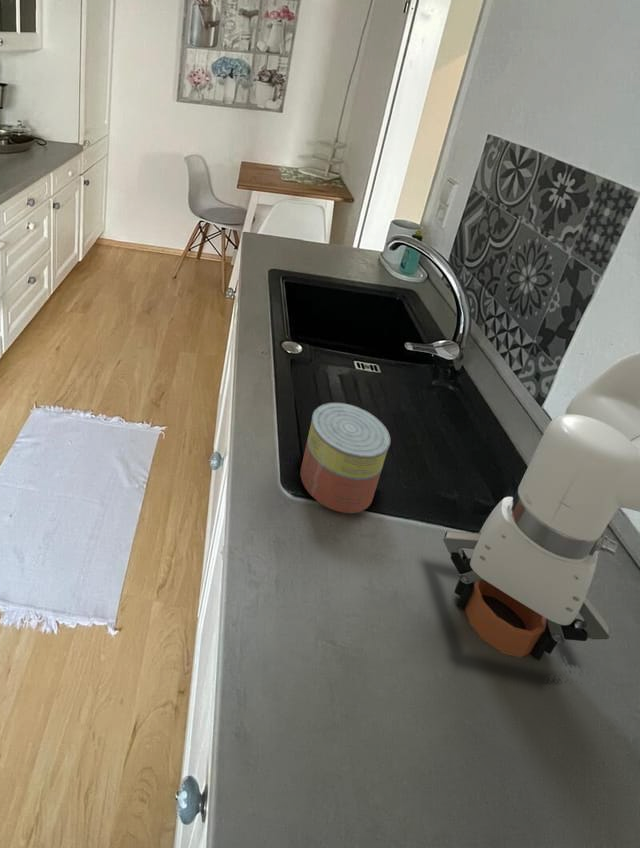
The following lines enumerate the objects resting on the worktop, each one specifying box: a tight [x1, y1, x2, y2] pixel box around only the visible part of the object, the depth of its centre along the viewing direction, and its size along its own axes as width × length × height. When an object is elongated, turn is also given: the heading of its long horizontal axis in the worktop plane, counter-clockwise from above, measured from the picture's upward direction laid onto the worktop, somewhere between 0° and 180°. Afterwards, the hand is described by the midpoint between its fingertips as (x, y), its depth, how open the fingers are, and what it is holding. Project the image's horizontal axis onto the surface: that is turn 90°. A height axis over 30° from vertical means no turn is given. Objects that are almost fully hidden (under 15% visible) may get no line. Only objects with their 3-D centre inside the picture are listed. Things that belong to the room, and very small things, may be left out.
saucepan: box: [464, 580, 546, 658], centre depth 63 cm, size 13×7×5 cm, turn 139°
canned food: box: [299, 402, 392, 514], centre depth 78 cm, size 11×11×12 cm
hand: (498, 622), depth 61 cm, fingers closed on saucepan, 7 cm apart
